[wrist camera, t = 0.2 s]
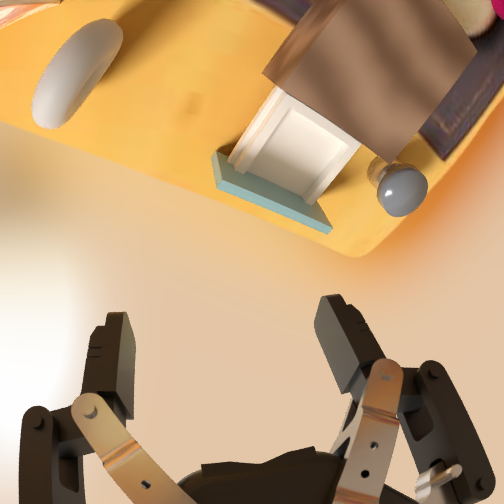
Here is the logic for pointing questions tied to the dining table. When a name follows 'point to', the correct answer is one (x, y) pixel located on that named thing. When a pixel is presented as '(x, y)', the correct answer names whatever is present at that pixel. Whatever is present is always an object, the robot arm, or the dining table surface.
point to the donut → (75, 72)
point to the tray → (286, 160)
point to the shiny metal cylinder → (379, 170)
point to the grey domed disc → (402, 190)
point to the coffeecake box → (22, 9)
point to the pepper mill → (499, 7)
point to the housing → (373, 66)
